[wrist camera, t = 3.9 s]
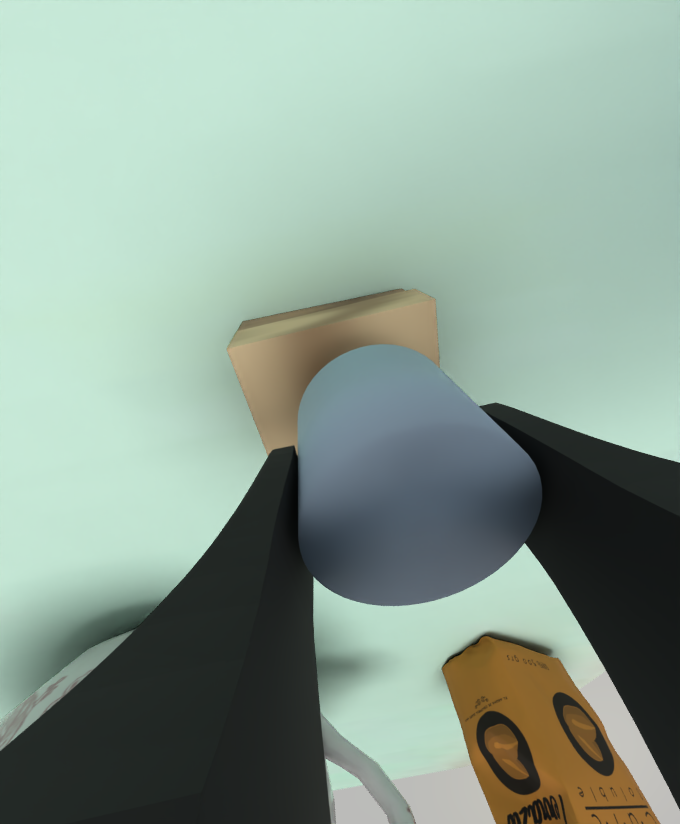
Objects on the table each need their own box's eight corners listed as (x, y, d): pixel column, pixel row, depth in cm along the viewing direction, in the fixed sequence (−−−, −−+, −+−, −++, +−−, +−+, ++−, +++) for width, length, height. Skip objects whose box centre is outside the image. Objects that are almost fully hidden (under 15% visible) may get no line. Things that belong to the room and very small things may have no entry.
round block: (457, 333, 10) (567, 404, 6) (448, 469, 12) (521, 585, 8) (283, 357, 9) (275, 448, 6) (310, 491, 12) (317, 622, 8)
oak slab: (414, 288, 15) (435, 299, 13) (428, 437, 19) (445, 465, 16) (236, 331, 15) (226, 348, 13) (287, 471, 19) (286, 503, 16)
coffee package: (495, 619, 32) (787, 1188, 13) (566, 648, 37) (858, 1103, 18) (425, 670, 36) (577, 1188, 16) (498, 691, 40) (683, 1116, 21)
